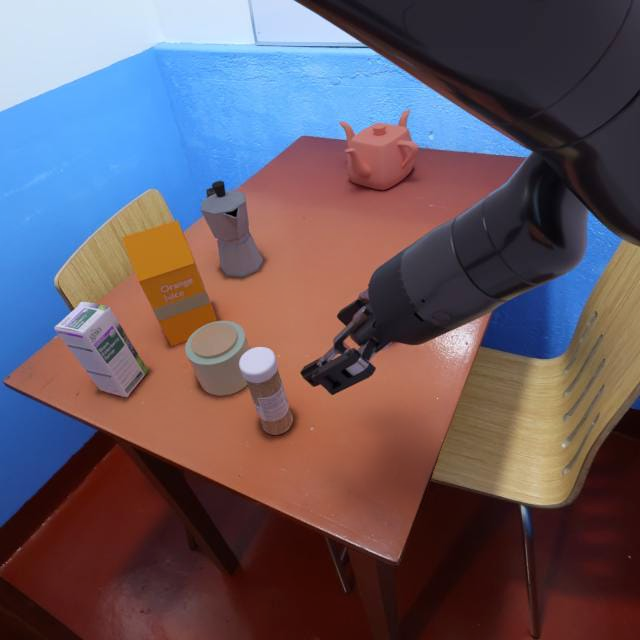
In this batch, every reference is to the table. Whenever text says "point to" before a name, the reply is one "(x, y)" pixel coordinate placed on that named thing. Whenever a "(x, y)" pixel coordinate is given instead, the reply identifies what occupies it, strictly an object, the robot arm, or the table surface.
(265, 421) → the sprinkles bottle
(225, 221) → the coffee maker
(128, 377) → the syrup box
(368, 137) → the pot
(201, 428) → the table surface
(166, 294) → the orange juice
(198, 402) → the table surface
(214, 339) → the pale green cylinder
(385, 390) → the table surface
